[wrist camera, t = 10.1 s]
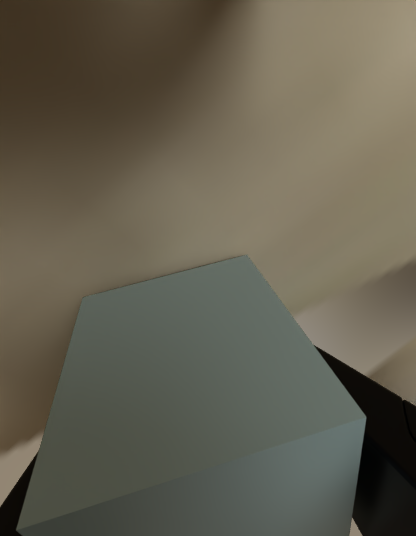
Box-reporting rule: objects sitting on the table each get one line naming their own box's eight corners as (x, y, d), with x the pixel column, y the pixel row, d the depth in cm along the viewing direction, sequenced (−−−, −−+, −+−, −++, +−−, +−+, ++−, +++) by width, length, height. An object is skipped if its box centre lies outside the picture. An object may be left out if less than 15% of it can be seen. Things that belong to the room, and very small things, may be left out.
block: (246, 254, 8) (366, 416, 4) (261, 367, 10) (347, 549, 6) (82, 297, 8) (15, 530, 4) (134, 404, 10) (131, 627, 6)
